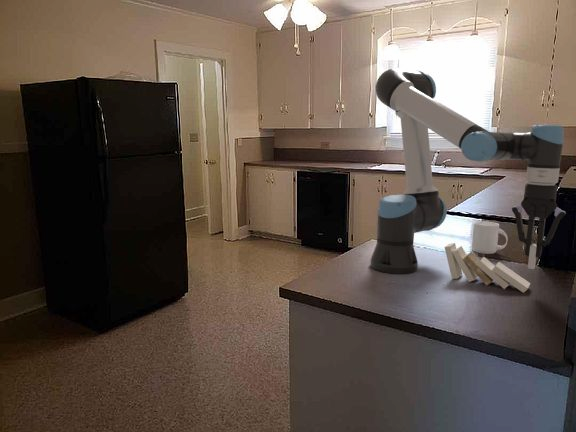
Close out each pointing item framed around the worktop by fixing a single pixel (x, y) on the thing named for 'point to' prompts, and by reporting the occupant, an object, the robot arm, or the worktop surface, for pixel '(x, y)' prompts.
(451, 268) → the tile
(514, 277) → the tile
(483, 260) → the tile
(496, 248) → the mug
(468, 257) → the tile
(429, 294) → the worktop surface
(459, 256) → the tile
